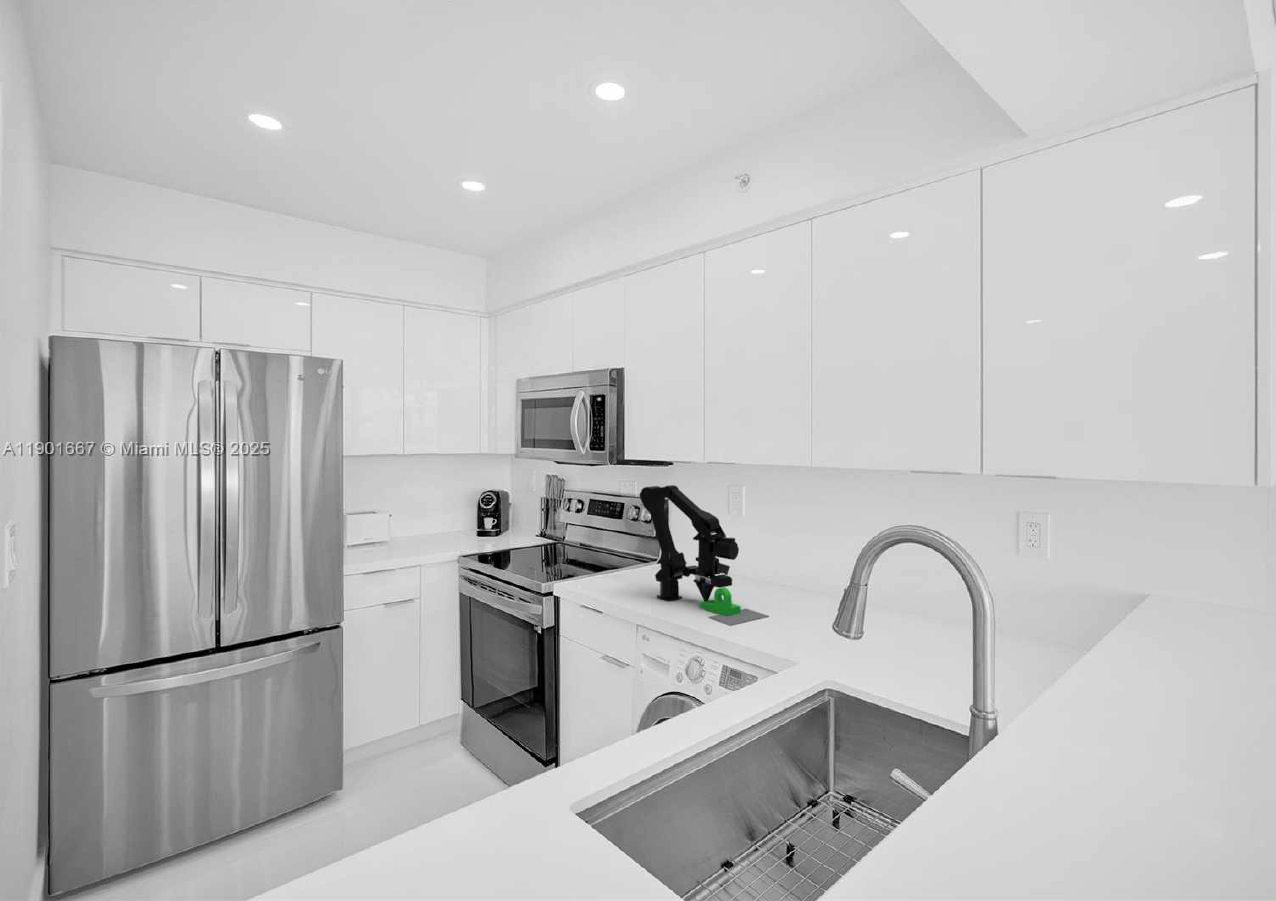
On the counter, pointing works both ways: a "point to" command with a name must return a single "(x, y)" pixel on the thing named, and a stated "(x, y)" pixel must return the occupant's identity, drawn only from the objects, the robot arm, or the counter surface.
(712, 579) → the robot arm
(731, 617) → the tool mat
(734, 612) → the mechanical part
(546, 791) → the counter surface
